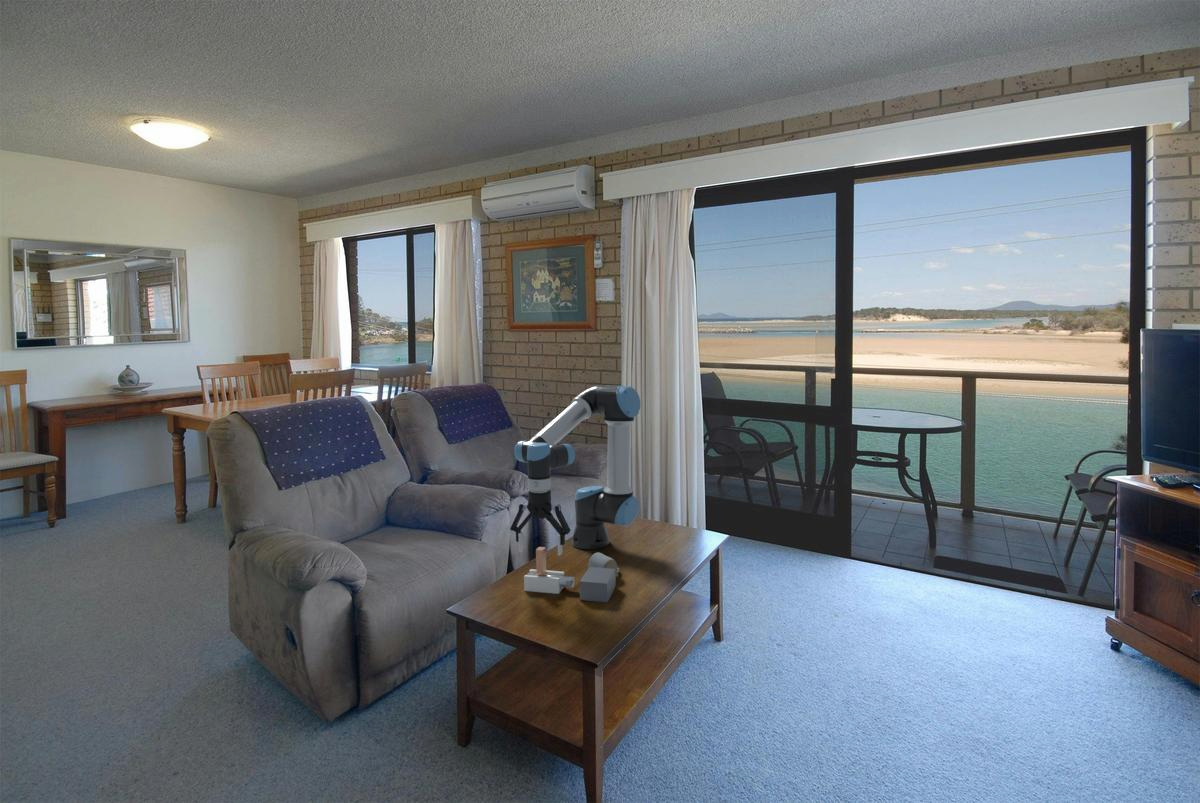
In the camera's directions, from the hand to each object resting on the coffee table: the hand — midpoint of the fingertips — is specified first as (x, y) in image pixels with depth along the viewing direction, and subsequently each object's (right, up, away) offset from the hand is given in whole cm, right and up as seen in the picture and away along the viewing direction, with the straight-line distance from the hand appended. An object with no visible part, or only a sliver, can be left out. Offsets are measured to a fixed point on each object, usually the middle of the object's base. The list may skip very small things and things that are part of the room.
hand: (540, 552), depth 204 cm
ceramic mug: (+22, -11, +12) cm, 27 cm away
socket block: (+19, -13, -3) cm, 23 cm away
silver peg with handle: (+3, -11, +1) cm, 11 cm away
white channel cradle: (+1, -12, +1) cm, 12 cm away
